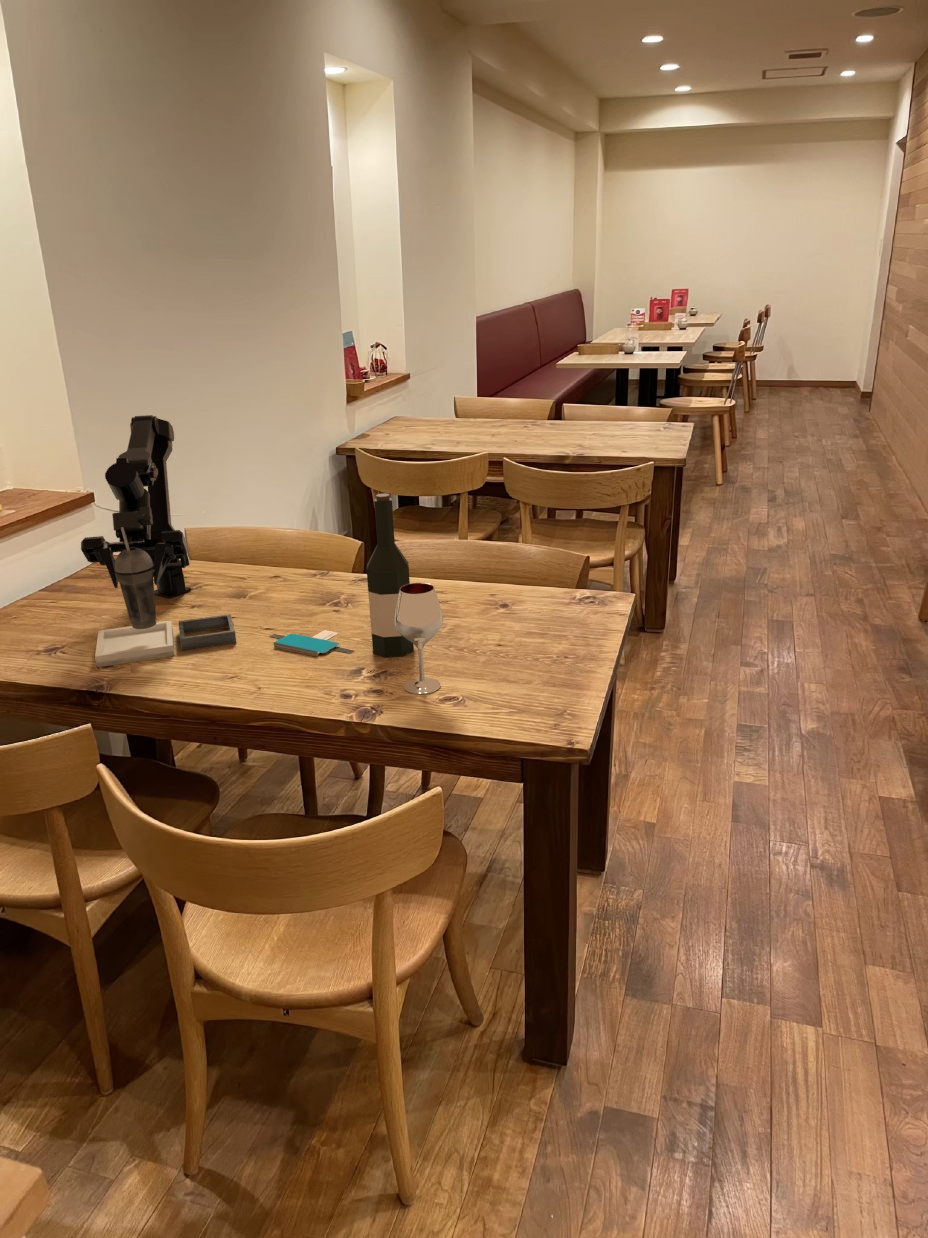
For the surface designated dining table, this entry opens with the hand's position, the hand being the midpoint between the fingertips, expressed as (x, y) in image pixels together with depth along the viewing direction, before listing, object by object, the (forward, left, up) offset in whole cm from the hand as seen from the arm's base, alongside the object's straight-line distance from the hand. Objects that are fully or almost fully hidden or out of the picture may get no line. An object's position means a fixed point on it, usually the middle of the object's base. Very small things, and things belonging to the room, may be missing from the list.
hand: (135, 585), depth 171 cm
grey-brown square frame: (+6, +10, -13) cm, 18 cm away
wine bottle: (+42, +25, -13) cm, 50 cm away
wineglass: (+57, +15, -13) cm, 60 cm away
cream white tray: (-2, -1, -13) cm, 14 cm away
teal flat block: (+26, +20, -14) cm, 35 cm away
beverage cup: (-1, +1, -9) cm, 9 cm away
